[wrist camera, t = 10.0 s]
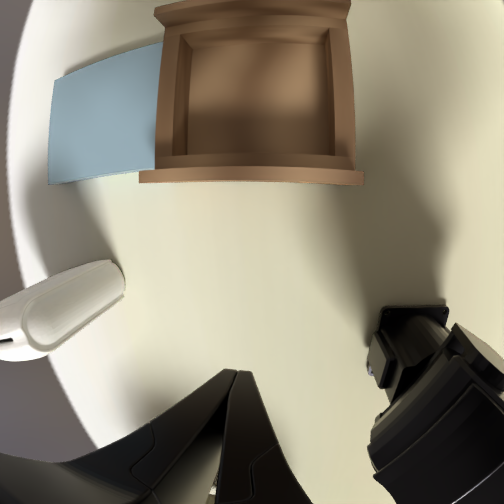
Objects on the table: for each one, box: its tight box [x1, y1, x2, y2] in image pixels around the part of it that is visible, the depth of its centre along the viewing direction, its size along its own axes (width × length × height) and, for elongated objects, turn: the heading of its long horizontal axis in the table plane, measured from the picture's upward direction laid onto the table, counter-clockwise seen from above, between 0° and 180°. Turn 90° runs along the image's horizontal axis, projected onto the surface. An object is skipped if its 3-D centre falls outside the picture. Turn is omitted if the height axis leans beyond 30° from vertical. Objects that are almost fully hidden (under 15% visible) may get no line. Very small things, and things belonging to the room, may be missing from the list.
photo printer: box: [0, 260, 125, 361], centre depth 17 cm, size 10×4×12 cm, turn 106°
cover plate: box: [48, 42, 163, 185], centre depth 19 cm, size 12×10×2 cm
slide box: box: [139, 0, 364, 185], centre depth 15 cm, size 12×12×6 cm
